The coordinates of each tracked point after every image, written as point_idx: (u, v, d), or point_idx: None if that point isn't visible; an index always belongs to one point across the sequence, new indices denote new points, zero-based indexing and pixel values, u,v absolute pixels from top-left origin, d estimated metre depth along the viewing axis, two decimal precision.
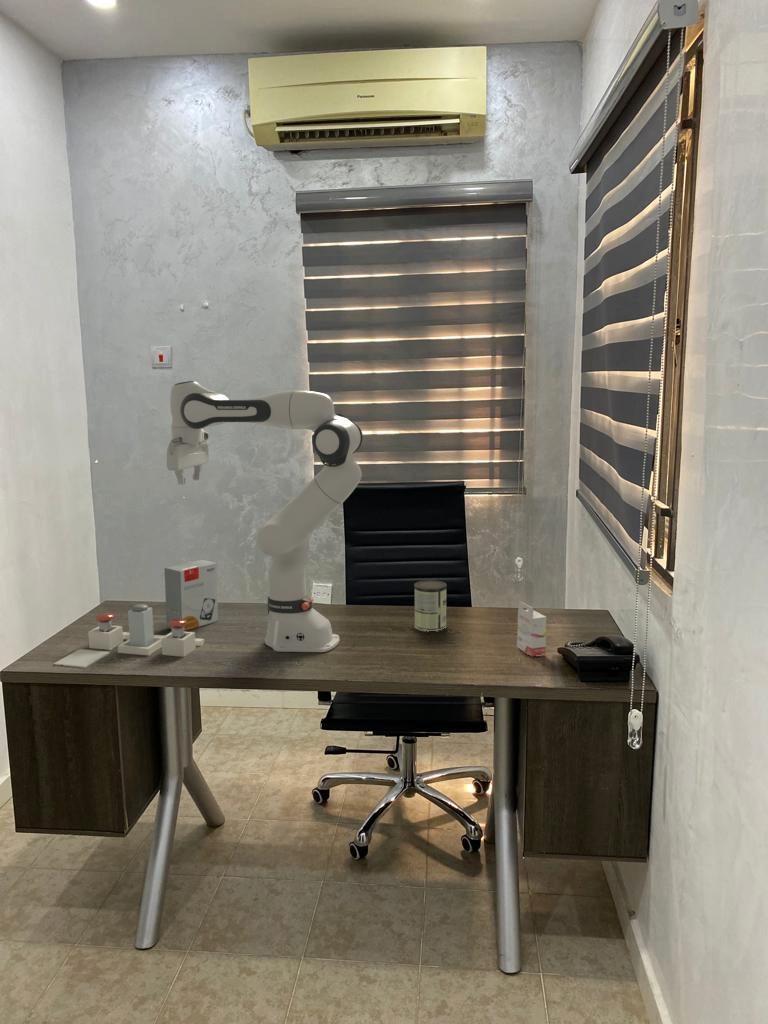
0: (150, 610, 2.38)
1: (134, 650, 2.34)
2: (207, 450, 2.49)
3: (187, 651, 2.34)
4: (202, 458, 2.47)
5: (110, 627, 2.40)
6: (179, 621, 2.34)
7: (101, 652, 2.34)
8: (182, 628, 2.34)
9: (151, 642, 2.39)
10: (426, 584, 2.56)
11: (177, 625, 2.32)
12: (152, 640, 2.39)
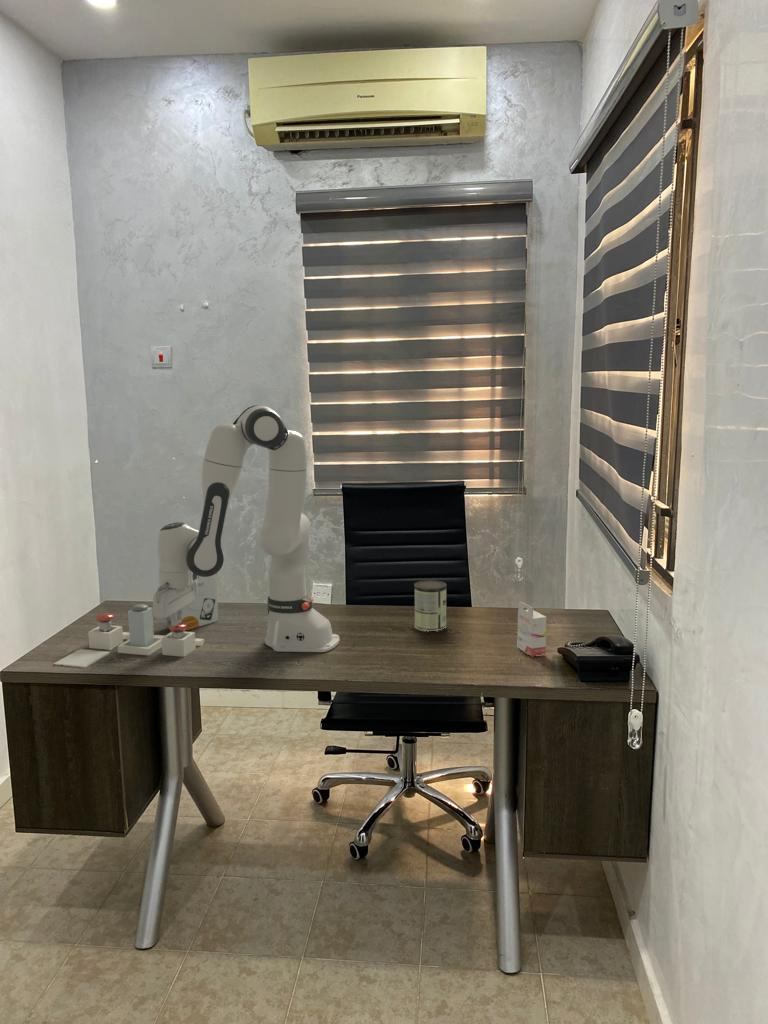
0: (150, 610, 2.38)
1: (134, 650, 2.34)
2: (196, 588, 2.40)
3: (187, 651, 2.34)
4: (191, 598, 2.38)
5: (110, 627, 2.40)
6: (179, 624, 2.34)
7: (101, 652, 2.34)
8: (182, 632, 2.34)
9: (151, 642, 2.39)
10: (426, 584, 2.56)
11: (177, 629, 2.32)
12: (152, 640, 2.39)
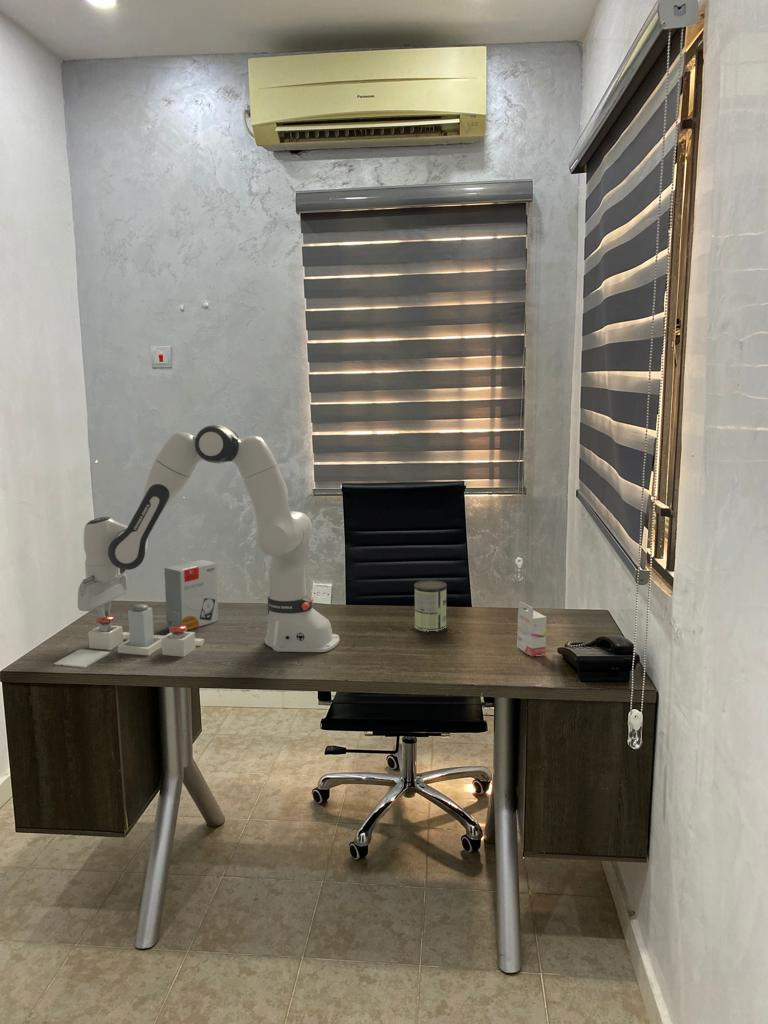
0: (150, 610, 2.38)
1: (134, 650, 2.34)
2: (125, 581, 2.46)
3: (187, 651, 2.34)
4: (119, 591, 2.44)
5: (110, 629, 2.40)
6: (179, 626, 2.35)
7: (101, 652, 2.34)
8: (182, 634, 2.34)
9: (151, 642, 2.39)
10: (426, 584, 2.56)
11: (177, 631, 2.32)
12: (152, 640, 2.39)
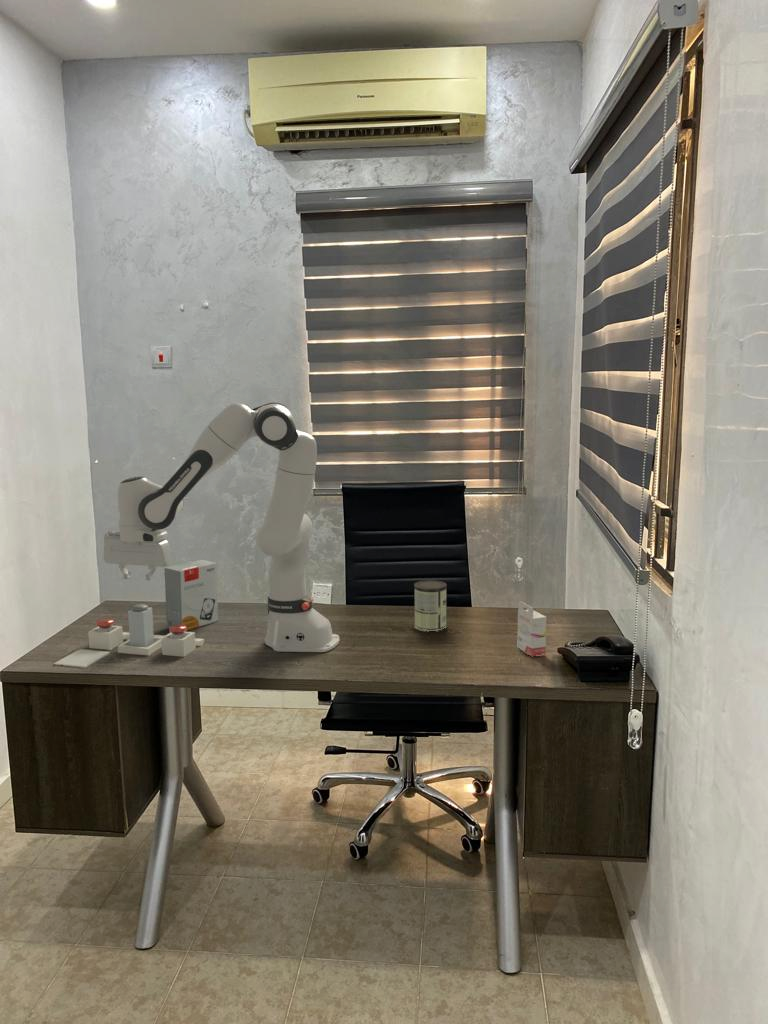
0: (150, 610, 2.38)
1: (134, 650, 2.34)
2: (159, 553, 2.29)
3: (187, 651, 2.34)
4: (152, 560, 2.31)
5: None
6: (179, 626, 2.35)
7: (101, 652, 2.34)
8: (182, 634, 2.34)
9: (151, 642, 2.39)
10: (426, 584, 2.56)
11: (177, 631, 2.32)
12: (152, 640, 2.39)
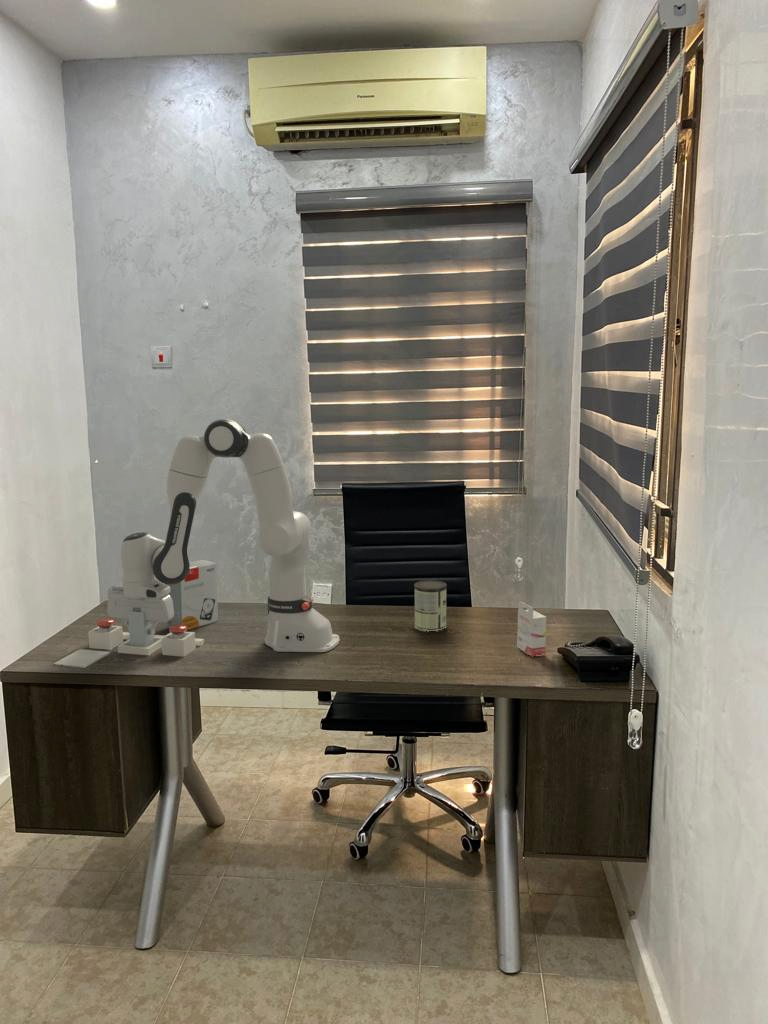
0: None
1: (134, 650, 2.34)
2: (162, 609, 2.32)
3: (187, 651, 2.34)
4: (155, 615, 2.34)
5: None
6: (179, 626, 2.35)
7: (101, 652, 2.34)
8: (182, 634, 2.34)
9: (151, 642, 2.39)
10: (426, 584, 2.56)
11: (177, 631, 2.32)
12: (152, 640, 2.39)
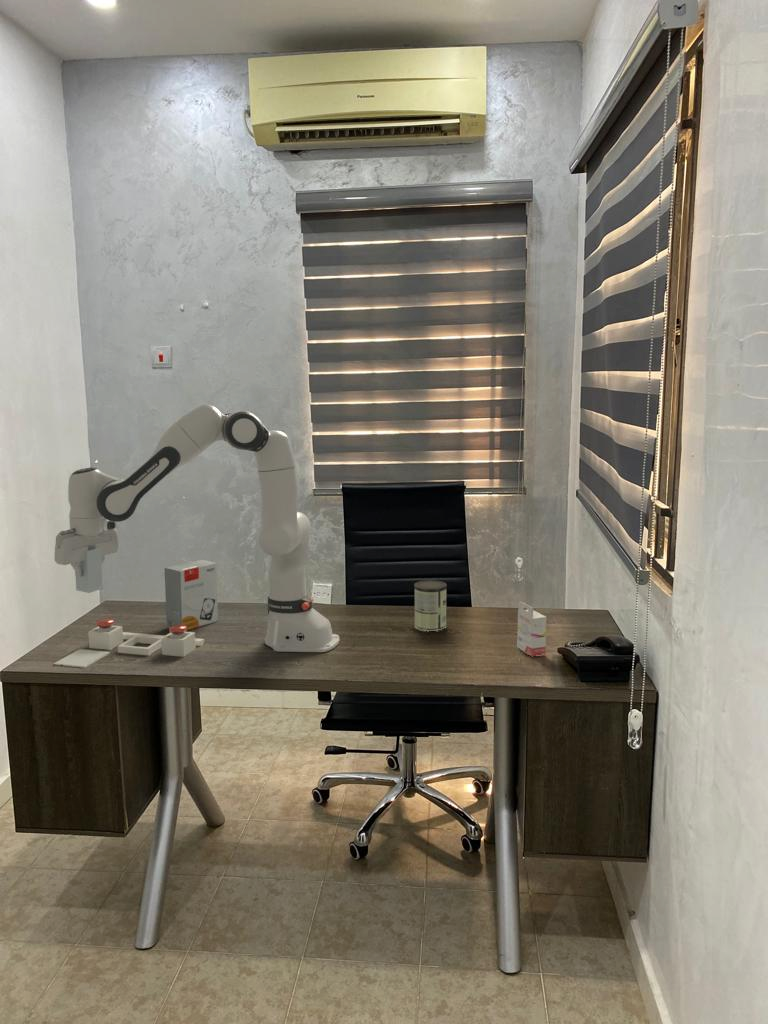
0: None
1: (134, 650, 2.34)
2: (116, 539, 2.33)
3: (187, 651, 2.34)
4: (108, 548, 2.31)
5: None
6: (179, 626, 2.35)
7: (101, 652, 2.34)
8: (182, 634, 2.34)
9: None
10: (426, 584, 2.56)
11: (177, 631, 2.32)
12: None
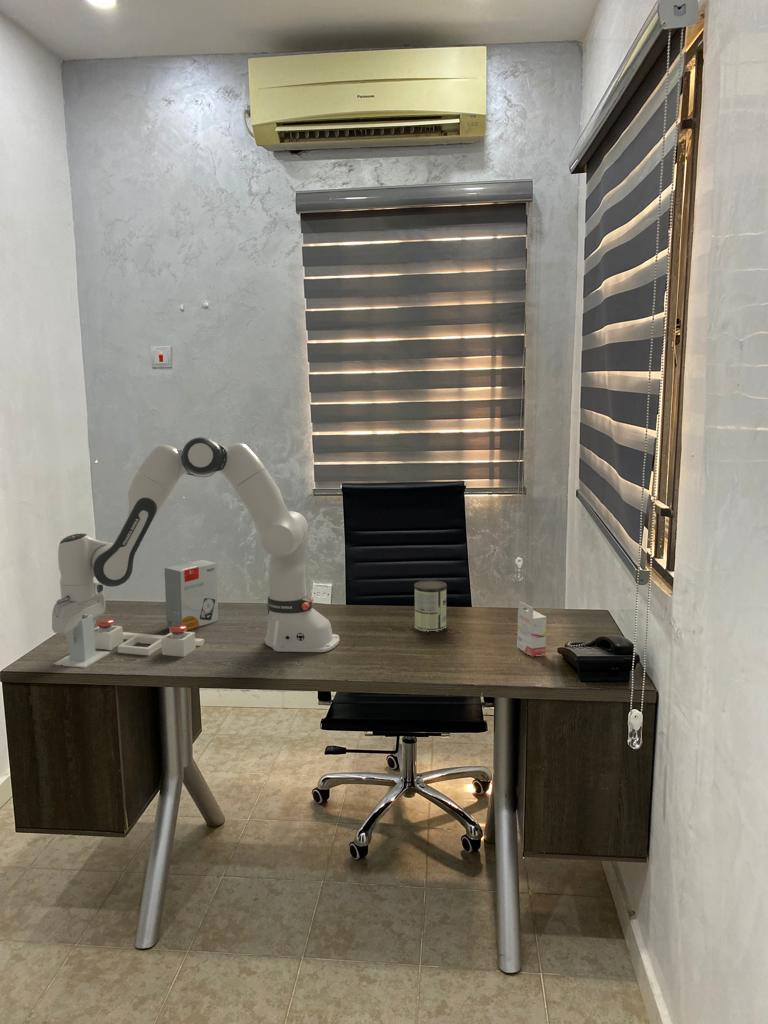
0: None
1: (134, 650, 2.34)
2: (103, 601, 2.35)
3: (187, 651, 2.34)
4: (97, 611, 2.33)
5: None
6: (179, 626, 2.35)
7: (101, 652, 2.34)
8: (182, 634, 2.34)
9: None
10: (426, 584, 2.56)
11: (177, 631, 2.32)
12: None
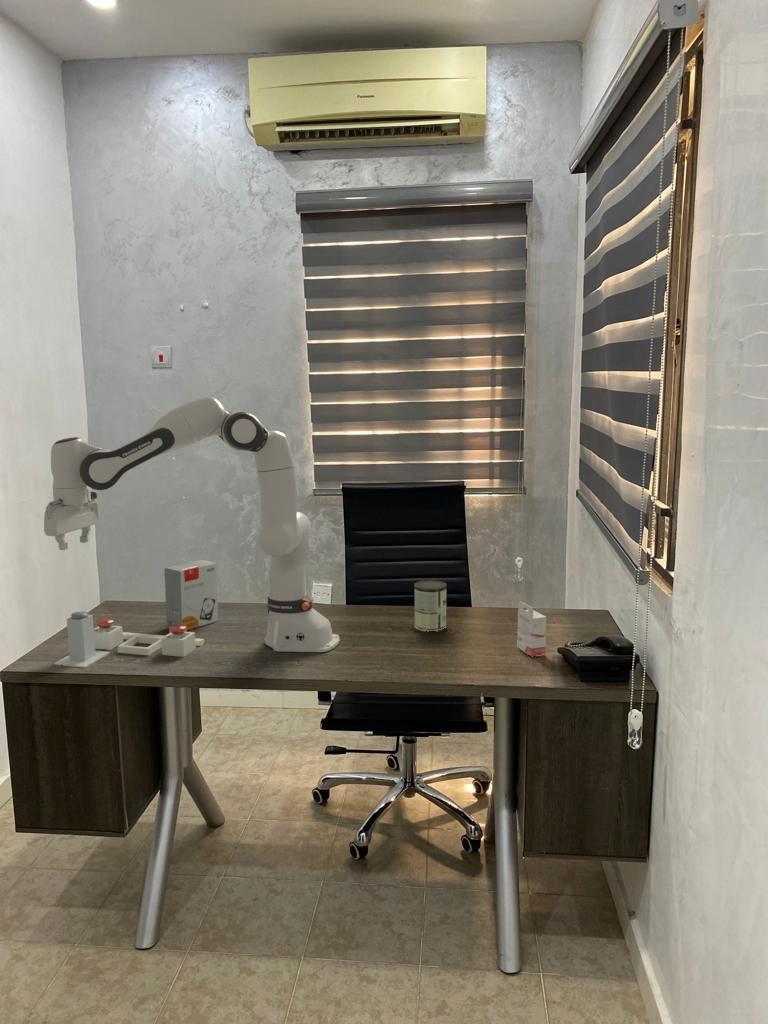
0: None
1: (134, 650, 2.34)
2: (96, 510, 2.31)
3: (187, 651, 2.34)
4: (91, 519, 2.29)
5: None
6: (179, 626, 2.35)
7: (101, 652, 2.34)
8: (182, 634, 2.34)
9: None
10: (426, 584, 2.56)
11: (177, 631, 2.32)
12: None
